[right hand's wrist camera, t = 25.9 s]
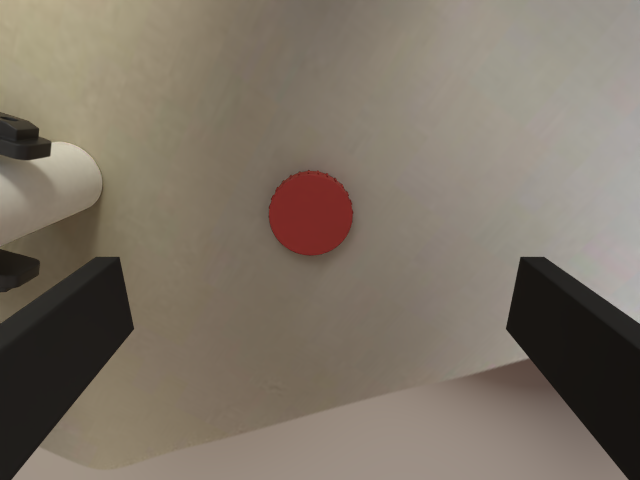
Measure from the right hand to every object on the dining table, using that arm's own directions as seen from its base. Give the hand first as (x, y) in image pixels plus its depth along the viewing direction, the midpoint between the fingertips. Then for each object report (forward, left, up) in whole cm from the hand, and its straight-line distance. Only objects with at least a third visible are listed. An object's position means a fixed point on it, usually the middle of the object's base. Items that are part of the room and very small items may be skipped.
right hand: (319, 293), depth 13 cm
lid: (0, -1, -12) cm, 12 cm away
